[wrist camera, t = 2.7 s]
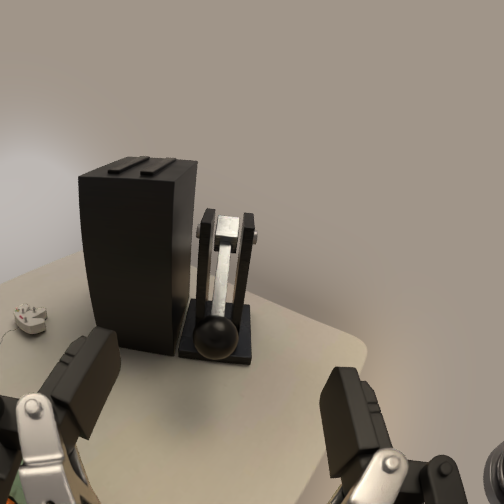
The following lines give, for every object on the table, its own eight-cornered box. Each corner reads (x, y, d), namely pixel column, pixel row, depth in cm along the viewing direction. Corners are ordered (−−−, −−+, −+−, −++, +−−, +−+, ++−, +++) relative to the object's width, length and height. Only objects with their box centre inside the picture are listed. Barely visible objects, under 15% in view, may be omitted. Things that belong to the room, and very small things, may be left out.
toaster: (173, 356, 30) (175, 177, 21) (100, 342, 29) (77, 172, 21) (189, 296, 40) (198, 158, 32) (130, 288, 40) (127, 153, 32)
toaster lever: (234, 367, 22) (239, 353, 20) (191, 362, 22) (188, 347, 19) (243, 238, 31) (247, 213, 29) (210, 234, 31) (211, 209, 28)
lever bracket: (250, 364, 30) (274, 242, 24) (178, 357, 30) (178, 231, 23) (248, 311, 39) (265, 207, 33) (190, 305, 39) (196, 199, 32)
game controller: (58, 318, 30) (53, 302, 29) (10, 378, 20) (1, 362, 19) (30, 308, 30) (25, 292, 29) (-17, 359, 20) (-26, 344, 19)
